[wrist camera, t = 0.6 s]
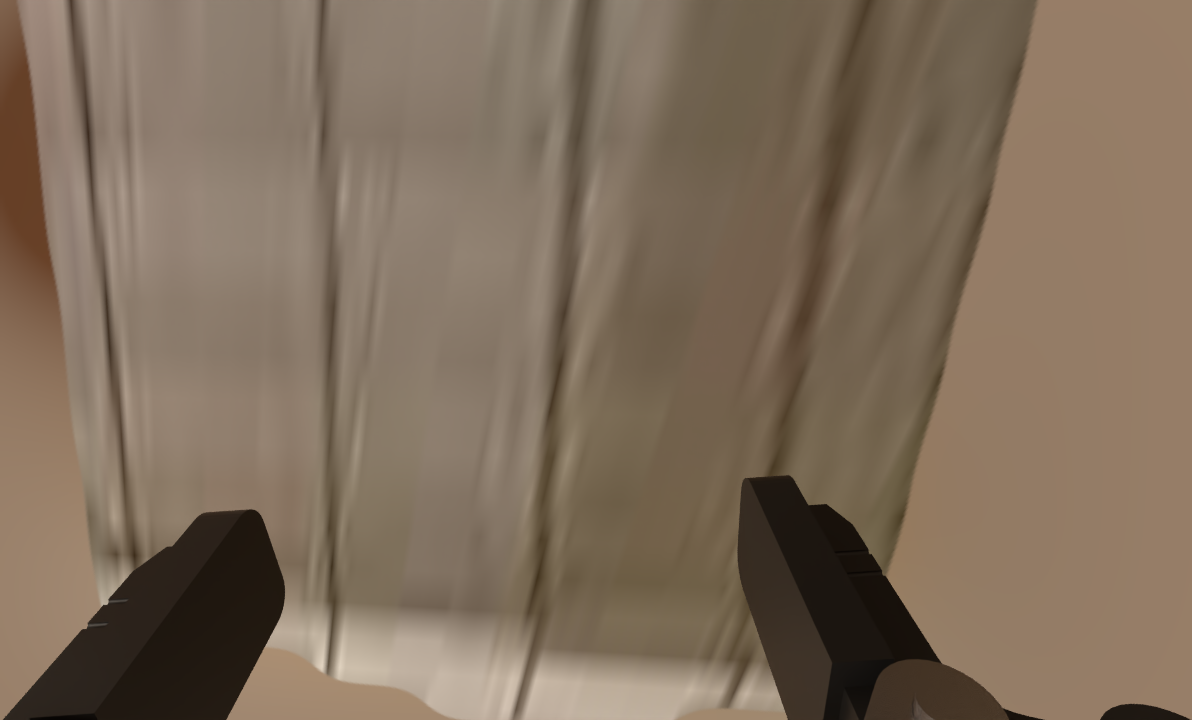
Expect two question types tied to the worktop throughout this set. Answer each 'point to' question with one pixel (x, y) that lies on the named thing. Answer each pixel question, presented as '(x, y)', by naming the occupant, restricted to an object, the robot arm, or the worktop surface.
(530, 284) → the worktop surface
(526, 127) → the worktop surface
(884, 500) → the worktop surface
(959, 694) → the robot arm
